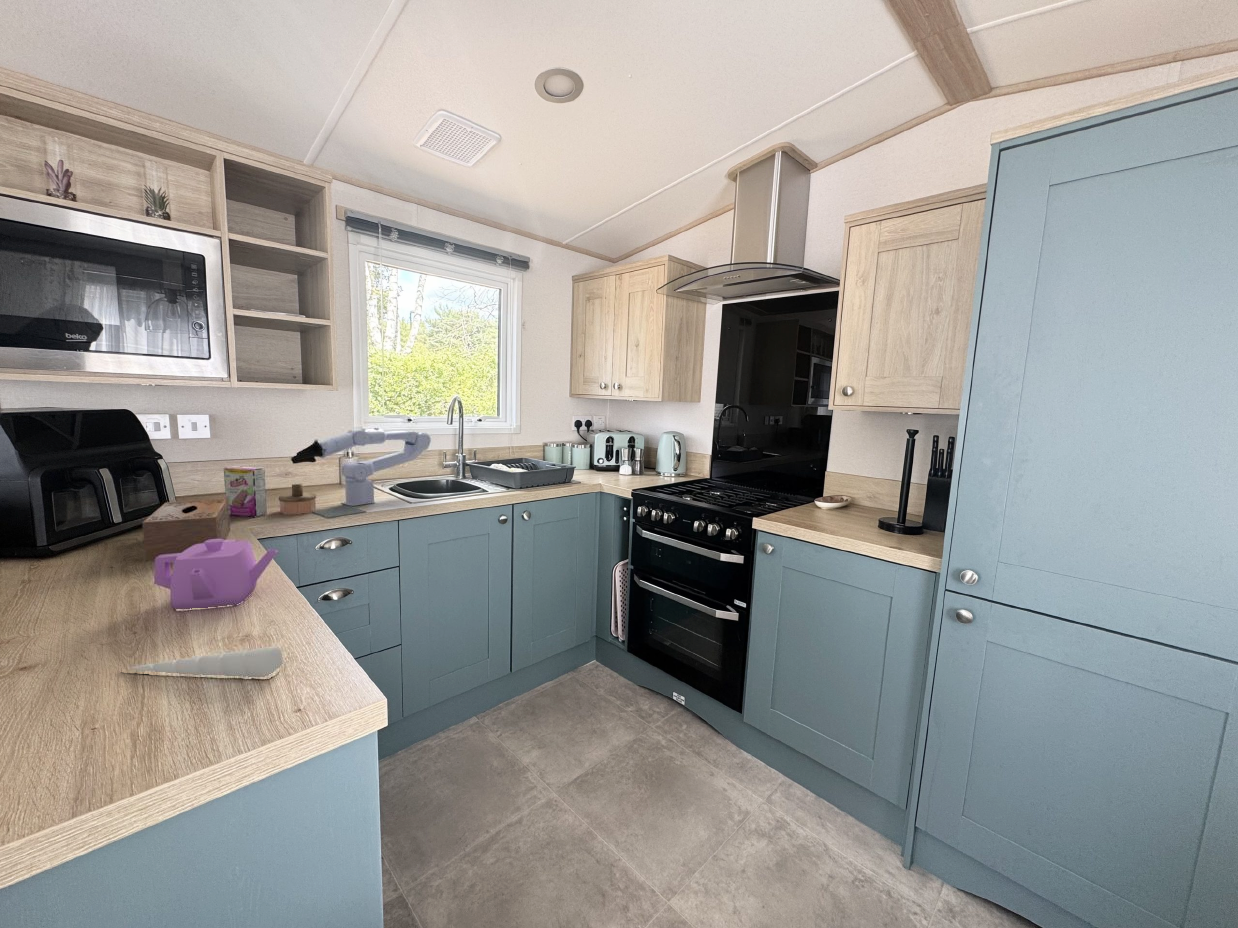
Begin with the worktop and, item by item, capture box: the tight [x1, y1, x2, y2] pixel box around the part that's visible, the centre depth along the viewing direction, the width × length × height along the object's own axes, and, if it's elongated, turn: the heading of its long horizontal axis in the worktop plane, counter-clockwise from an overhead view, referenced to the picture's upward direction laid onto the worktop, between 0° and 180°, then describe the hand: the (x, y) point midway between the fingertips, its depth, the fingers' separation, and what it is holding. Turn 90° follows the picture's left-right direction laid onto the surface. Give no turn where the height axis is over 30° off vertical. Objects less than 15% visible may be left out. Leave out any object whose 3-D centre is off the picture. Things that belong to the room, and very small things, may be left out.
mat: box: [311, 505, 367, 519], centre depth 185 cm, size 13×13×1 cm
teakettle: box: [153, 539, 279, 610], centre depth 108 cm, size 17×17×12 cm
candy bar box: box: [223, 465, 268, 518], centre depth 175 cm, size 11×5×16 cm, turn 84°
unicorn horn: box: [127, 645, 284, 677], centre depth 80 cm, size 5×24×5 cm, turn 88°
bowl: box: [279, 498, 317, 515], centre depth 184 cm, size 10×10×4 cm
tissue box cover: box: [141, 498, 231, 562], centre depth 143 cm, size 26×14×10 cm, turn 31°
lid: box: [278, 483, 317, 502], centre depth 183 cm, size 11×11×5 cm
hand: (294, 458), depth 181 cm, fingers open, 7 cm apart
